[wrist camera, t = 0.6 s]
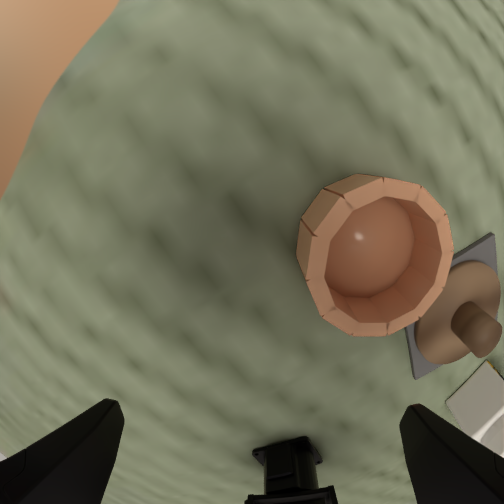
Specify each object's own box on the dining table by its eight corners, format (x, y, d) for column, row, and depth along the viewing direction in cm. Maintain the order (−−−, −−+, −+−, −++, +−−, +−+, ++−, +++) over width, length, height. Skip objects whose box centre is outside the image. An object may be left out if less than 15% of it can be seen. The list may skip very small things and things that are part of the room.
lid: (493, 326, 21) (520, 350, 16) (419, 374, 23) (440, 408, 18) (491, 241, 19) (528, 258, 14) (405, 292, 20) (436, 323, 15)
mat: (493, 325, 22) (496, 327, 21) (413, 376, 23) (415, 380, 23) (490, 232, 19) (494, 234, 18) (395, 286, 21) (398, 290, 20)
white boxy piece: (498, 377, 24) (542, 431, 13) (461, 414, 26) (497, 474, 15) (486, 358, 23) (539, 421, 12) (443, 401, 25) (485, 472, 13)
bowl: (429, 272, 20) (459, 295, 16) (324, 323, 22) (338, 358, 17) (397, 156, 18) (431, 156, 13) (274, 209, 19) (279, 222, 15)
